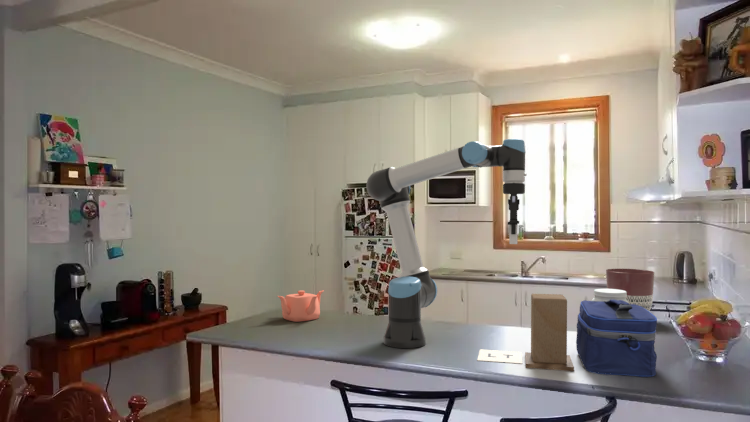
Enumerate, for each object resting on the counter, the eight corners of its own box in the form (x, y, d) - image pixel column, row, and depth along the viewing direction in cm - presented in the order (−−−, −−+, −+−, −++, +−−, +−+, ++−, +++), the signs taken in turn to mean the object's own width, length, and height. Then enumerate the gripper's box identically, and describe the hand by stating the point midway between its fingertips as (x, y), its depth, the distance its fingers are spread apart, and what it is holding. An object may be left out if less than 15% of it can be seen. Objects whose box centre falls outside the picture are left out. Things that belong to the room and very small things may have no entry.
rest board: (525, 367, 169) (525, 363, 169) (525, 355, 183) (525, 352, 183) (574, 371, 166) (574, 367, 166) (569, 358, 179) (569, 355, 179)
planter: (658, 324, 232) (658, 274, 232) (608, 322, 238) (608, 272, 238) (649, 316, 251) (649, 269, 251) (603, 313, 257) (603, 267, 256)
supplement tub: (594, 334, 215) (594, 287, 215) (630, 338, 208) (630, 289, 208) (588, 341, 203) (589, 291, 203) (626, 345, 197) (627, 294, 197)
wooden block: (566, 364, 168) (567, 299, 168) (532, 362, 170) (533, 298, 170) (562, 356, 178) (563, 294, 178) (530, 354, 180) (531, 293, 180)
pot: (316, 323, 233) (317, 294, 233) (276, 322, 234) (276, 293, 234) (324, 315, 251) (324, 288, 251) (286, 314, 252) (286, 287, 252)
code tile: (477, 360, 177) (477, 359, 177) (480, 349, 190) (480, 349, 190) (522, 363, 173) (522, 363, 173) (521, 352, 187) (521, 352, 187)
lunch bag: (666, 382, 156) (667, 310, 155) (587, 377, 160) (588, 307, 160) (637, 354, 186) (638, 293, 186) (572, 350, 190) (572, 291, 190)
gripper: (525, 181, 182) (524, 245, 182) (524, 184, 206) (524, 241, 206) (502, 181, 184) (501, 244, 184) (503, 184, 208) (503, 240, 208)
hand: (513, 242), depth 195 cm, fingers open, 13 cm apart
